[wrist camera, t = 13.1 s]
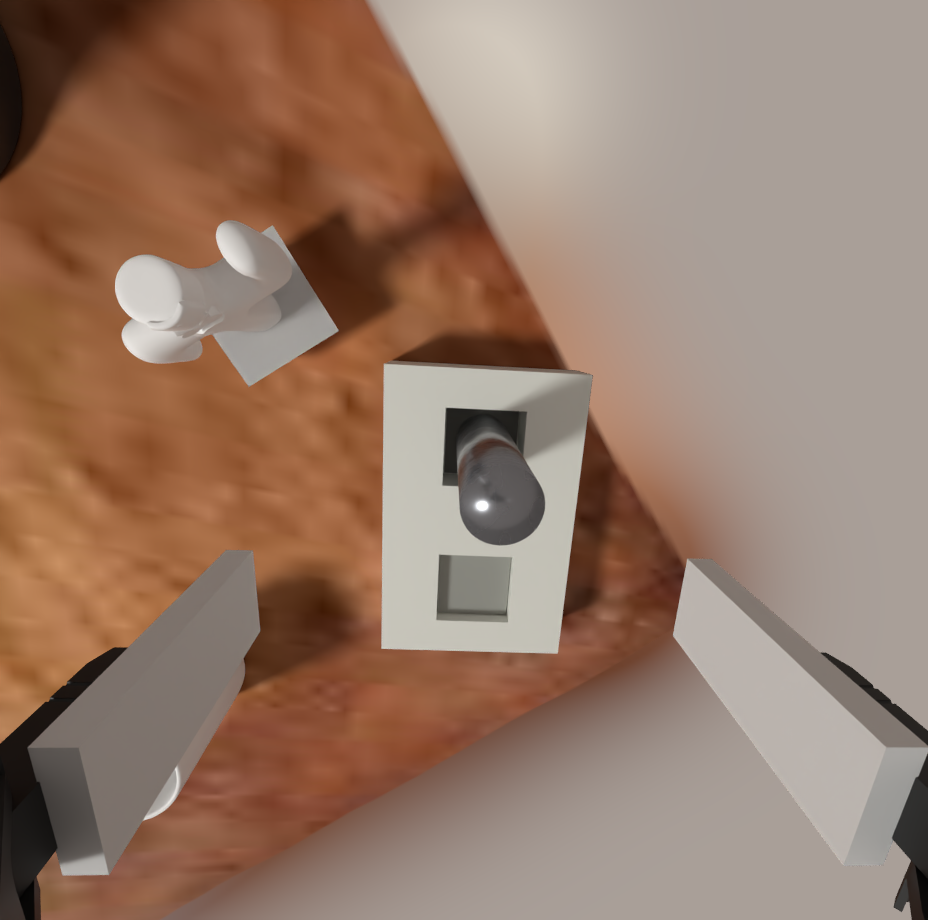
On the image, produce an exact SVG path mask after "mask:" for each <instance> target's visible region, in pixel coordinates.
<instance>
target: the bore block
mask: <svg viewBox="0 0 928 920" xmlns="http://www.w3.org/2000/svg"><path fill="white" fill-rule="evenodd" d="M592 377H593V375H591V374H587V373H584V372H580V371H575V370H557V369H538V368H519V367H501V366H482V365H464V364H445V363H427V362H408V361H389V362H387V363H385V364H384V425H383V540H382V649H413V650H449V651H486V652H522V653H558V646H559V638H560V631H561V623H562V615H563V607H564V599H565V591H566V583H567V575H568V567H569V559H570V552H571V544H572V536H573V528H574V520H575V512H576V504H577V496H578V488H579V480H580V473H581V465H582V457H583V449H584V441H585V433H586V425H587V417H588V409H589V401H590V393H591V386H592ZM479 414H486V415H491V416H493V417H495V418H497V419H498V420H500V421H501V422H502V423H503V425H504V426H505V428H506V429H507V431H508V433H509V434H510V436H511V438H512V439H513V441H514V443H515V444H516V446H517V447H518V449H519V451H520V452H521V454H522V456H523V457H524V459H525V461H526V462H527V464H528V466H529V467H530V469H531V471H532V472H533V474H534V476H535V477H536V479H537V481H538V482H539V484H540V486H541V487H542V490H543V492H544V496H545V511H544V515H543V518H542V520H541V522H540V524H539V526H538V527H537V528H536V530H535V531H534V532H533V533H532V534H531V535H530V536H528V537H527V538H525V539H524V540H522V541H520V542H517V543H514V544H511V545H501V546H499V545H492V544H488V543H485V542H483V541H481V540H479V539H477V538H476V537H474V536H473V535H472V534H471V533H470V532H469V531H468V530H467V528H466V527H465V525H464V523H463V521H462V518H461V515H460V508H459V489H458V470H457V451H456V435H457V432H458V429H459V428H460V426H461V425H462V423H463V422H464V421H465V420H467V419H468V418H470V417H472V416H475V415H479Z"/></svg>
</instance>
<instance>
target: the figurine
mask: <svg viewBox="0 0 928 920" xmlns="http://www.w3.org/2000/svg"><path fill="white" fill-rule="evenodd" d="M216 240H217V244H218V247H219V249H220V251H221V253H222V255H223V256H224V258H222V259H221V260H219V261H218V262H216V263H215V264H213V265H211V266H208V267H205V268H195V269H190V268H185V267H183V266H181V265H178V264H176V263H173V262H171V261H168V260H165V259H163V258H160V257H157V256H154V255H138V256H135V257H133V258H131V259H129V260H128V261H126V262H125V263H124V264H123V265H122V266H121V268H120V270H119V271H118V274H117V277H116V281H115V291H116V296H117V299H118V301H119V303H120V305H121V307H122V308H123V310H124V311H125V312H126V313H127V314H128V315H129V316H130V317H132V318H133V319H131V320H130V321H129V322H128V323H127V324H126V325H125V326H124V328H123V331H122V339H123V342H124V344H125V346H126V348H127V349H128V350H129V351H130V352H131V353H132V354H133V355H134V356H136V357H137V358H139V359H141V360H144V361H147V362H151V363H173V362H183V361H191V360H195V359H197V358H199V357H200V355H201V354H202V344H201V341H200V339H202V338H203V337H205V336H207V335H211V334H212V335H213V336H214V338H215V339H216V341H217V342H218V343H219V345H220V346H221V348H222V349H223V351H224V352H225V353H226V355H227V356H228V358H229V359H230V361H231V362H232V363H233V365H234V366H235V368H236V369H237V370H238V372H239V373H240V375H241V376H242V378H243V379H244V380H245V382H246V383H247V385H248V386H251V385H252V384H254V383H256V382H257V381H259V380H261V379H262V378H264V377H265V376H267V375H269V374H270V373H272V372H273V371H275V370H277V369H278V368H280V367H282V366H283V365H285V364H286V363H288V362H290V361H291V360H293V359H294V358H296V357H298V356H299V355H301V354H302V353H304V352H306V351H307V350H309V349H311V348H312V347H314V346H315V345H317V344H319V343H320V342H322V341H323V340H325V339H327V338H328V337H330V336H332V335H333V334H335V333H336V332H338V331H339V330H338V329H337V327H336V325H335V324H334V322H333V321H332V319H331V317H330V316H329V314H328V313H327V311H326V309H325V308H324V306H323V305H322V303H321V301H320V300H319V298H318V297H317V295H316V293H315V292H314V290H313V289H312V287H311V285H310V284H309V282H308V281H307V279H306V278H305V276H304V274H303V273H302V271H301V270H300V268H299V266H298V265H297V263H296V262H295V260H294V258H293V257H292V255H291V254H290V252H289V250H288V249H287V247H286V246H285V244H284V242H283V241H282V239H281V238H280V236H279V235H278V233H277V231H276V230H275V228H274V227H273V225H272V226H271V227H269V228H268V229H266V230H265V231H263V232H262V233H260V232H258V231H256V230H254V229H252V228H250V227H249V226H247V225H245V224H243V223H240V222H238V221H232V220H229V221H225V222H223V223H221V224H220V225H219V227H218V228H217V232H216Z"/></svg>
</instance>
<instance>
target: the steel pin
mask: <svg viewBox="0 0 928 920" xmlns="http://www.w3.org/2000/svg"><path fill="white" fill-rule="evenodd" d="M456 451H457V470H458V489H459V508H460V515H461V518H462V521H463V523H464V525H465V527H466V528H467V530H468V531H469V532H470V533H471V534H472V535H473V536H474V537H476V538H477V539H479V540H481V541H483V542H485V543H488V544H492V545H499V546H501V545H511V544H514V543H517V542H520V541H522V540H524V539H525V538H527V537H528V536H530V535H531V534H532V533H533V532H534V531H535V530H536V528H537V527H538V526H539V524H540V522H541V520H542V518H543V515H544V511H545V496H544V492H543V490H542V487H541V486H540V484H539V482H538V481H537V479H536V477H535V476H534V474H533V472H532V471H531V469H530V467H529V466H528V464H527V462H526V461H525V459H524V457H523V456H522V454H521V452H520V451H519V449H518V447H517V446H516V444H515V443H514V441H513V439H512V438H511V436H510V434H509V433H508V431H507V429H506V428H505V426H504V425H503V423H502V422H501V421H500V420H498V419H497V418H495V417H493V416H491V415H486V414H479V415H475V416H472V417H470V418H468V419H467V420H465V421H464V422H463V423H462V425H461V426H460V428H459V429H458V432H457V435H456Z"/></svg>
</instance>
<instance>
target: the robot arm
mask: <svg viewBox="0 0 928 920" xmlns="http://www.w3.org/2000/svg"><path fill="white" fill-rule="evenodd" d="M21 112H22V101H21V89H20V82H19V76H18V71H17V67H16V63H15V60H14V57H13V54H12V51H11V48H10V45H9V43H8V40H7V38H6V35H5V33H4V31H3V29H2V27H1V25H0V174H1V173H2V171H3V170H4V168H5V167H6V165H7V164H8V162H9V160H10V158H11V156H12V154H13V151H14V149H15V146H16V143H17V139H18V135H19V131H20V124H21ZM259 633H260V621H259V611H258V600H257V590H256V579H255V568H254V558H253V551H249V550H226V551H225V552H224V553H223V554H222V555H221V556H220V557H219V558H218V559H217V560H216V561H215V562H214V563H213V564H212V565H211V566H210V567H209V568H208V569H207V570H206V571H205V572H204V573H203V574H202V575H201V576H200V577H199V578H198V579H197V580H196V581H195V582H194V583H193V584H192V585H191V586H190V587H189V588H188V589H187V590H186V591H185V592H184V593H183V594H182V595H181V596H180V597H179V598H178V599H177V600H176V601H175V602H174V603H173V604H172V605H171V606H170V607H168V608H167V609H166V610H165V611H164V612H163V613H162V614H161V615H160V616H159V617H158V618H157V619H156V620H155V621H154V622H153V623H152V624H151V625H150V626H149V627H148V628H147V629H146V630H145V631H144V632H143V633H142V634H141V635H140V636H139V637H138V638H137V639H136V640H135V641H134V642H133V643H132V644H131V645H130V646H129V647H128V648H116V647H114V648H112V649H111V650H109V651H107V652H105V653H104V654H102V655H100V656H99V657H97V658H95V659H94V660H92V661H90V662H89V663H87V664H86V665H85V666H84V667H83V668H82V669H81V670H80V671H78V672H77V673H76V674H75V675H74V676H73V677H72V678H71V679H70V680H69V681H68V682H67V685H66V686H62V687H61V688H60V689H59V690H58V691H57V692H56V693H55V694H54V695H53V696H51V697H50V700H49V702H45V703H44V704H43V705H42V706H41V707H40V708H38V709H37V710H36V711H35V712H34V713H33V714H32V715H31V716H30V717H29V718H28V719H27V720H25V721H24V722H23V723H22V724H21V725H20V726H19V727H18V728H17V729H16V730H15V731H14V732H13V733H11V734H10V735H9V736H8V737H7V738H6V739H5V740H4V741H3V742H2V743H1V744H0V920H41V906H40V887H39V884H38V881H37V877H36V876H37V875H38V873H39V872H40V871H41V869H42V868H43V867H44V865H45V864H46V863H47V861H48V860H49V859H50V857H51V856H52V855H53V853H54V852H55V851H56V853H57V857H58V860H59V864H60V867H61V871H62V875H109V874H110V872H111V871H112V869H113V867H114V866H115V864H116V863H117V861H118V859H119V858H120V856H121V855H122V853H123V851H124V850H125V848H126V847H127V845H128V843H129V842H130V840H131V839H132V837H133V835H134V834H135V832H136V830H137V829H138V827H139V826H140V824H141V822H142V821H143V819H144V818H145V816H146V814H147V813H148V811H149V810H150V808H151V806H152V805H153V803H154V801H155V800H156V798H157V797H158V795H159V793H160V792H161V790H162V789H163V787H164V785H165V784H166V782H167V781H168V779H169V777H170V776H171V774H172V773H173V771H174V769H175V768H176V766H177V764H178V763H179V761H180V760H181V758H182V756H183V755H184V753H185V752H186V750H187V748H188V747H189V745H190V744H191V742H192V740H193V739H194V737H195V736H196V734H197V732H198V731H199V729H200V727H201V726H202V724H203V723H204V721H205V719H206V718H207V716H208V715H209V713H210V711H211V710H212V708H213V707H214V705H215V703H216V702H217V700H218V698H219V697H220V695H221V694H222V692H223V690H224V689H225V687H226V686H227V684H228V682H229V681H230V679H231V678H232V676H233V674H234V673H235V671H236V670H237V668H238V666H239V665H240V663H241V661H242V660H243V658H244V657H245V655H246V653H247V652H248V650H249V649H250V647H251V645H252V644H253V642H254V641H255V639H256V637H257V636H258V634H259ZM673 636H674V638H675V639H676V640H677V642H678V643H679V644H680V645H681V647H682V648H683V650H684V651H685V653H686V654H687V655H688V657H689V658H690V659H691V661H692V662H693V663H694V665H695V666H696V667H697V669H698V670H699V671H700V673H701V674H702V675H703V677H704V678H705V680H706V681H707V682H708V683H709V685H710V686H711V688H712V689H713V690H714V692H715V693H716V694H717V696H718V697H719V698H720V700H721V701H722V702H723V704H724V705H725V707H726V708H727V709H728V710H729V712H730V713H731V715H732V716H733V717H734V719H735V720H736V721H737V723H738V724H739V725H740V727H741V728H742V729H743V731H744V732H745V733H746V735H747V736H748V738H749V739H750V740H751V742H752V743H753V744H754V745H755V747H756V748H757V750H758V751H759V752H760V754H761V755H762V756H763V758H764V759H765V761H766V762H767V763H768V765H769V766H770V767H771V769H772V770H773V771H774V773H775V774H776V775H777V777H778V778H779V779H780V781H781V782H782V783H783V784H784V786H785V787H786V789H787V790H788V791H789V793H790V794H791V796H792V797H793V798H794V800H795V801H796V802H797V804H798V805H799V806H800V808H801V809H802V810H803V812H804V813H805V815H806V816H807V817H808V819H809V820H810V821H811V823H812V824H813V825H814V827H815V828H816V829H817V831H818V832H819V833H820V835H821V836H822V837H823V839H824V840H825V842H826V843H827V844H828V846H829V847H830V848H831V850H832V851H833V852H834V854H835V855H836V856H837V858H838V859H839V860H840V862H841V863H842V864H843V866H867V865H869V866H870V865H883V864H884V862H885V860H886V857H887V854H888V852H889V849H890V847H891V844H892V842H893V840H894V841H895V842H896V844H897V845H898V846H899V847H900V848H901V849H902V850H903V852H905V854H906V855H907V856H908V857H909V858H910V860H911V862H910V865H909V867H908V869H907V872H906V874H905V876H904V879H903V881H902V884H901V886H900V888H899V891H898V893H897V896H896V898H895V903H894V908H896V909H898V910H899V911H901V912H902V911H903V908H904V906H905V904H906V902H910V909H911V917H912V920H928V731H927V730H926V729H925V728H923V726H921V725H920V724H919V723H918V722H917V721H915V720H914V719H913V718H912V717H911V716H909V715H908V714H907V713H906V712H905V711H903V710H902V709H901V708H900V707H899V706H897V705H896V704H892V703H891V700H890V699H889V698H888V697H886V696H885V695H884V694H883V693H882V692H880V691H879V690H878V689H874V688H873V685H872V684H871V683H870V682H868V681H867V680H866V679H865V678H864V677H863V676H861V675H860V674H859V673H858V672H856V671H855V670H854V669H853V668H851V667H850V666H848V665H846V664H845V663H843V662H841V661H839V660H838V659H836V658H834V657H832V656H831V655H829V654H827V653H820V652H819V651H818V650H816V649H815V648H814V647H813V646H811V644H809V643H808V642H807V641H806V640H805V639H804V638H802V637H801V636H800V635H799V634H798V633H797V632H795V631H794V630H793V629H792V628H791V627H790V626H789V625H787V624H786V623H785V622H784V621H783V620H782V619H780V618H779V617H778V616H777V615H776V614H774V612H772V611H771V610H770V609H769V608H768V607H767V606H765V605H764V604H763V603H762V602H761V601H760V600H758V599H757V598H756V597H755V596H754V595H753V594H752V593H750V592H749V591H748V590H747V589H746V588H745V587H743V586H742V585H741V584H740V583H739V582H737V581H736V580H735V579H734V578H733V577H732V576H731V575H730V574H728V573H727V572H726V571H725V570H724V569H723V568H721V567H720V566H719V565H718V564H717V563H716V562H714V561H713V560H712V559H687V564H686V569H685V575H684V580H683V585H682V590H681V596H680V601H679V606H678V612H677V617H676V622H675V627H674V633H673Z"/></svg>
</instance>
